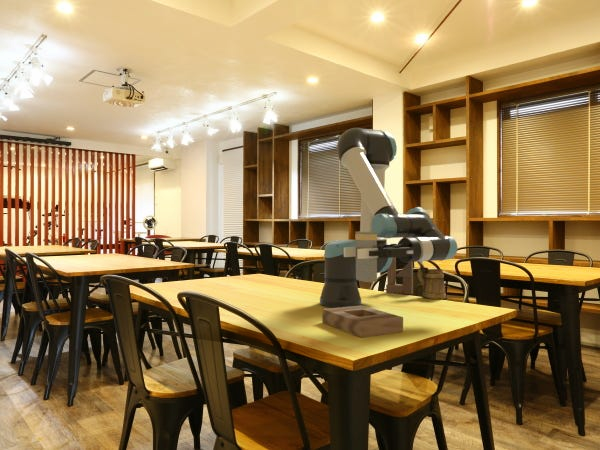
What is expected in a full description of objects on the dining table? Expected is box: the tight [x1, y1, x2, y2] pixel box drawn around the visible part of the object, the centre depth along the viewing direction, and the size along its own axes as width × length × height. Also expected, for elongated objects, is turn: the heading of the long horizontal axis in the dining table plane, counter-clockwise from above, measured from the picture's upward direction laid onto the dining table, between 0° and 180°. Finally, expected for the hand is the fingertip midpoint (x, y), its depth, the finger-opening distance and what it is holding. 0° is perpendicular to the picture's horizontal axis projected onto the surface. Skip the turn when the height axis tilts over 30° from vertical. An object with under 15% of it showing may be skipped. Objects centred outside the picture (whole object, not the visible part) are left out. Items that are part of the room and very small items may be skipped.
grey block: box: [354, 231, 378, 283], centre depth 131 cm, size 6×3×14 cm, turn 28°
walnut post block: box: [321, 304, 404, 338], centre depth 131 cm, size 20×14×4 cm
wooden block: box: [385, 257, 414, 296], centre depth 194 cm, size 4×11×18 cm, turn 66°
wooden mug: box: [416, 262, 447, 300], centre depth 184 cm, size 9×14×18 cm, turn 71°
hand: (351, 253), depth 128 cm, fingers closed on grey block, 6 cm apart
